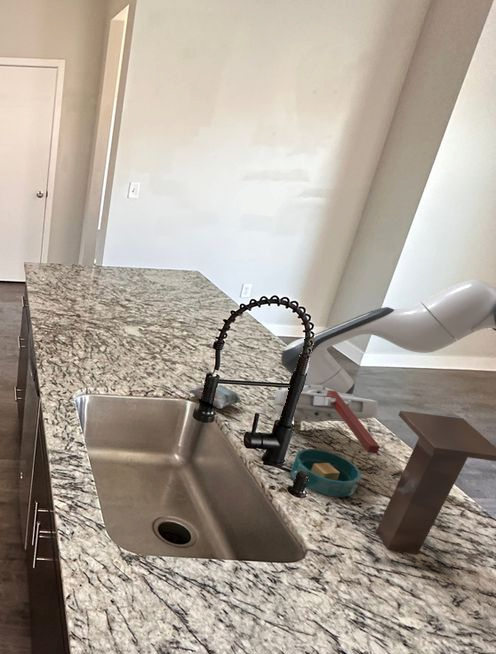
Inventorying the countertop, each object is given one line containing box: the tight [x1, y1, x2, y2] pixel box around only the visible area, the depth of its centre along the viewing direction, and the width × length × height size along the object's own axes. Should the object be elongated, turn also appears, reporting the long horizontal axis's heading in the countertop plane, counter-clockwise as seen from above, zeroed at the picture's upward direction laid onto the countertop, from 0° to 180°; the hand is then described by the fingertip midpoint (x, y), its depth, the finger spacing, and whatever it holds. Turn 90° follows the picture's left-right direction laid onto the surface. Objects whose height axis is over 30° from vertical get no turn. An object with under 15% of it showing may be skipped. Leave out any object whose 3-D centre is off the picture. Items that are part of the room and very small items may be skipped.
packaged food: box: [186, 383, 243, 410], centre depth 149 cm, size 9×12×5 cm
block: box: [311, 463, 340, 481], centre depth 118 cm, size 4×4×4 cm
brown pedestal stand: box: [375, 410, 496, 556], centre depth 96 cm, size 12×12×26 cm
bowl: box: [290, 448, 362, 498], centre depth 117 cm, size 12×12×5 cm
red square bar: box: [326, 390, 381, 454], centre depth 109 cm, size 2×22×2 cm, turn 168°
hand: (339, 402), depth 115 cm, fingers closed on red square bar, 2 cm apart
